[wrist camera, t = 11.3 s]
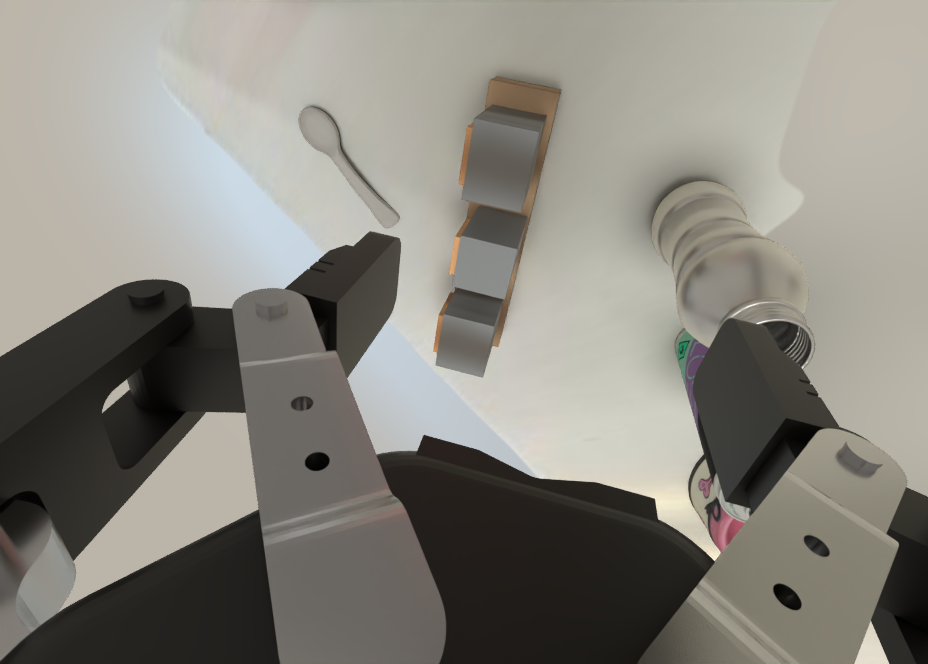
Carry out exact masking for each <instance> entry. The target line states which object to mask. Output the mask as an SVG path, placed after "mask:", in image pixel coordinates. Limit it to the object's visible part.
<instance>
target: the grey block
mask: <svg viewBox="0 0 928 664" xmlns="http://www.w3.org/2000/svg"><path fill="white" fill-rule="evenodd" d="M527 218H528V217H526V216H522V215H518V214H514V213H510V212H506V211H501V210H497V209H493V208H489V207H485V206H481V205H479V207H478V209H477V210H476V212H475V213H474V215H473V217H472V218H471V219H466V221H465V222H464V224H463V225H462V227H461V228H460V230H459V231H458V233H457V235H456V236H455V241H454V247H453V253H452V259H451V265H450V271H449V274H451V275H454V277H453V283H452V286H453V287H457V288H461V289H465V290H469V291H473V292H477V293H481V294H484V295H488V296H492V297H496V298H500V299H504V300H505V298H506V294H507V291H508V288H509V284H510V281H511V278H512V274H513V271H514V268H515V265H516V261H517V257H518V253H519V249H520V245H521V241H522V237H523V234H524V230H525V226H526V222H527Z"/></svg>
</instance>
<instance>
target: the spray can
mask: <svg viewBox="0 0 928 664" xmlns="http://www.w3.org/2000/svg"><path fill="white" fill-rule="evenodd" d="M708 349H709V348H708V347H706V346H705V345H703V344H701V343H700V342H699V341H697V340H696V339H695V338H694V337H693V336H692V335H690V334H689V333H688V332H687V331H686V329H685V328H684V329H683V330H682V331H681V332H680V334H679V335H678V337H677V339H676V342H675V350H676V355H677V359H678V362H679V366H680V369H681V373H682V377H683V380H684V384H685V387H686V391H687V394H688V398H689V401H690V405H691V409H692V412H693V416H694V419H695V423H696V426H697V430H698V434H699V437H700V441H701V444H702V448H703V451H704V455H705V459H706V462H707V466H708V469H709V473H710V476H711V480H712V483H713V487H714V491H715V494H716V496H717V498H718V499H719V502H720V504H721V506H722V508H723V510H724V511H725V512H726V513H727V514H728V515H730V516H731V517H733V518H735V519H736V520H738V521H741V522H744V523H745V522H746V521H747V520H748V518H749V517H750V516H751V515H752V510H751V509H750V508H746V507H743V506H739V505H735V504H732V503H728V502H725V500H724V496H723V493H722V490H721V486H720V483H719V479H718V476H717V473H716V469H715V466H714V463H713V459H712V456H711V453H710V449H709V446H708V442H707V439H706V436H705V432H704V429H703V426H702V422H701V419H700V416H699V412H698V409H697V405H696V402H695V399H694V395H693V382H694V377H695V374H696V372H697V369H698V368H699V366H700V364H701V362H702V360H703V358H704V356H705V355H706V353H707V351H708Z"/></svg>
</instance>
